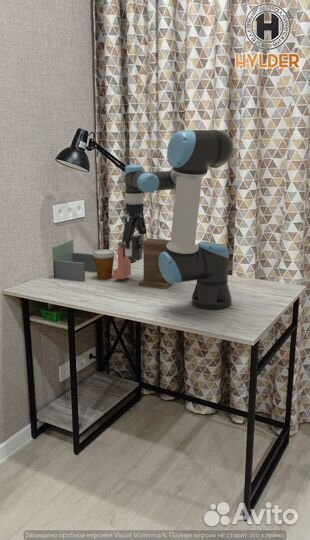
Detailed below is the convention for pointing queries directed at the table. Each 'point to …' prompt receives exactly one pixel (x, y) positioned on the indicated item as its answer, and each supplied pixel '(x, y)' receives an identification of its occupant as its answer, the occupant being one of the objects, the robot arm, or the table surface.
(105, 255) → the disposable coffee cup
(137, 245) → the player rod
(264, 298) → the table surface
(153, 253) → the brown wooden flanged block
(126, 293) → the table surface
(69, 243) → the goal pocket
